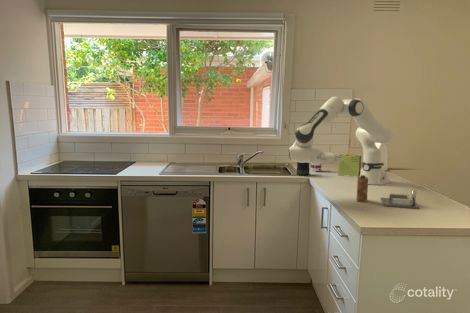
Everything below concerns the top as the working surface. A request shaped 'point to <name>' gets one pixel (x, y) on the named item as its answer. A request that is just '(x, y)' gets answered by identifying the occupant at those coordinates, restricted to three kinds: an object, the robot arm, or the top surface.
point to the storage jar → (303, 169)
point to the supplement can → (316, 167)
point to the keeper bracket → (401, 201)
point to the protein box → (350, 165)
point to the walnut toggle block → (362, 188)
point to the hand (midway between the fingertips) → (342, 159)
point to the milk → (383, 154)
